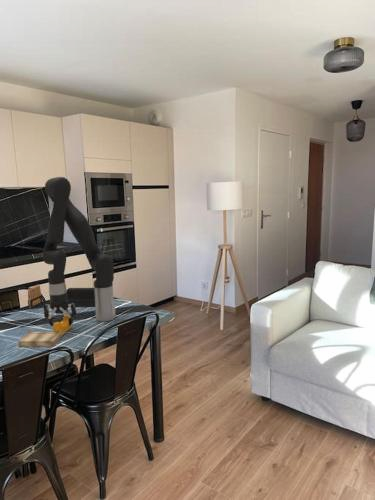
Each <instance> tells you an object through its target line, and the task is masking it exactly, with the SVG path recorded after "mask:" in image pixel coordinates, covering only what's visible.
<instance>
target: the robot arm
mask: <svg viewBox="0 0 375 500" xmlns="http://www.w3.org/2000/svg"><path fill="white" fill-rule="evenodd" d="M44 190H45V192H46V194H47V196H48V197H49V199H50V200H51V201H52V203H53V204H52V205H53V206H52V209H51V210H52V211H51V214H50V216H49V220H48V224H47V233H46V234H47V238H46V241H45V244H44V248H43V251H42V260H43V262H44V263H45V264H46V265H53V268H52V269H51V270H49V271H47V276H48V277H47V279H48V280H47V281H48V293H49V301H50V302H49V303H50V304H48V303H46V304H45V305H44V306H43V317H44V318H45V319H48V323H49V325H50V327H54V325H53V324H54V323H55V320H54V315H55V314H56V315H57V314H58V315H59V314H61V315H62V314H64V315H67V316H68V317H69V318H68V320H69V326H71V327H72V325H73V323H74V317H76V316H77V307H75V303H72V304H68V300H67V284H66V277H65V271H66V265H67V264H66V263H67V255H66V253H65V252H64V250H62V249H57V248H58V246H59V245H61V244H63V243H64V236H65V234H64V233H65V223H66V225H67V227H68V229H69V231H70V232H71V234H72V236H73V237H74V238H75V241H77V244H78V246H79V247H80V248H81V249H82V251H83V253H84V254H85V257H86V259H87V262H88V263H89V265H90V267H91V269H92V270H93V271H95V280H94V281H93V288H94V294H95V307H94V309H95V320H96V321H98V322H108V321H113V320H114V319H115V317H117V316H116V315H117V313H116V301H115V300H116V299H115V298H114V286H113V285H114V284H113V283H114V279H115V276H114V273H115V271H114V261H113V259H112V258H111V257H110V256H109V255H106V254H104V253H103V252H102V251H101V249H100V248H99V246H98V245H97V242H96V239H95V234H94V230H93V228H92V227H91V224H90V222H89V220H88V218H86V215H84V214H83V213H82V212H81V211H80V210H79V209H78V208H77V206H75V205H74V203H72V201H71V199H70V195H71V190H72V185H71V182H70V181H69V179H68V178H66V177H64V176H56V177H52V178H49V179H47V180H46V181H45V184H44ZM49 309H51V310H52V311H51V313H50V312H49V311H50V310H49ZM70 309H71V310H70Z"/></svg>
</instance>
